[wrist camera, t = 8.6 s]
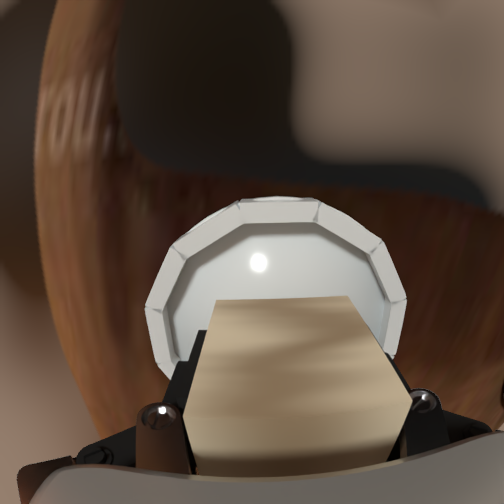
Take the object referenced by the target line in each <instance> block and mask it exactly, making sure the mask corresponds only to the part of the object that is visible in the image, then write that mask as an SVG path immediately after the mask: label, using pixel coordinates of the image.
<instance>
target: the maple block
mask: <svg viewBox="0 0 504 504" xmlns="http://www.w3.org/2000/svg"><path fill="white" fill-rule="evenodd" d="M411 404H412V399H411V397H410V395H409V394H408V392H407V390H406V388H405V387H404V385H403V383H402V382H401V380H400V378H399V377H398V375H397V373H396V372H395V370H394V368H393V367H392V365H391V363H390V362H389V360H388V358H387V357H386V355H385V353H384V352H383V350H382V349H381V347H380V345H379V344H378V342H377V341H376V339H375V337H374V336H373V334H372V333H371V331H370V329H369V328H368V326H367V325H366V323H365V322H364V320H363V318H362V317H361V315H360V314H359V312H358V311H357V309H356V308H355V306H354V305H353V303H352V302H351V300H350V299H349V297H348V296H330V297H308V298H281V299H239V300H216V302H215V306H214V309H213V312H212V316H211V319H210V323H209V326H208V329H207V333H206V336H205V340H204V343H203V347H202V350H201V354H200V357H199V361H198V364H197V368H196V371H195V375H194V378H193V382H192V385H191V389H190V392H189V396H188V400H187V403H186V407H185V410H184V414H183V419H184V423H185V427H186V430H187V434H188V437H189V441H190V444H191V448H192V451H193V455H194V458H195V461H196V464H197V468H198V471H199V474H200V476H214V477H247V478H251V477H285V476H299V475H310V474H320V473H328V472H336V471H342V470H349V469H355V468H360V467H366V466H371V465H376V464H380V463H385V462H386V460H387V458H388V456H389V454H390V452H391V450H392V448H393V446H394V444H395V442H396V440H397V437H398V435H399V433H400V431H401V428H402V426H403V424H404V421H405V419H406V416H407V414H408V411H409V409H410V406H411Z"/></svg>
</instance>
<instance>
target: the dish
mask: <svg viewBox="0 0 504 504" xmlns="http://www.w3.org/2000/svg"><path fill="white" fill-rule="evenodd" d="M330 296H348V297H349V299H350V300H351V302H352V303H353V305H354V306H355V308H356V309H357V311H358V312H359V314H360V315H361V317H362V318H363V320H364V322H365V323H366V324H367V325H368V327H369V328H370V330H371V332H372V333H373V335H374V336H375V338H376V339H377V341H378V343H379V344H380V346H381V347H382V349H383V351H384V352H386V353H388V354H389V355H390V356H391V358H392V359H393V358H394V355H395V354H396V351H397V347H398V343H399V338H400V333H401V329H402V324H403V319H404V313H405V308H406V302H407V300H406V299H405V298H406V294H405V292H404V289H403V287H402V284H401V282H400V279H399V277H398V274H397V272H396V269H395V267H394V265H393V262H392V260H391V257H390V255H389V253H388V250H387V248H386V246H385V244H384V242H383V241H381V239H380V238H378V237H377V236H375V235H374V234H372V233H371V232H369V231H368V230H366V229H365V228H364V227H363V226H362V225H360V224H359V223H358V222H356V221H355V220H354V219H352V218H351V217H349V216H348V215H346V214H344V213H342V212H340V211H338V210H336V209H334V208H333V207H331V206H328V205H325V204H324V203H322V202H320V201H318V200H317V199H313V198H299V197H289V196H270V197H258V198H254V199H241V201H240V202H239V201H238V200H237V201H236V202H234V203H233V204H231V205H229V206H227V207H225V208H222V209H220V210H219V211H217V212H215V213H213V214H211V215H209V216H208V217H206V218H205V219H203V220H202V221H201V222H199V223H198V224H197V225H195V226H194V227H193V228H192V229H191V230H190V231H189V232H187V233H186V234H184V235H182V236H181V237H180V238H179V239H178V240H177V241H176V242H175V243H173V244H172V246H171V247H170V249H169V251H168V253H167V255H166V257H165V260H164V262H163V264H162V266H161V269H160V271H159V273H158V276H157V278H156V280H155V283H154V285H153V287H152V290H151V292H150V294H149V297H148V299H147V302H146V304H145V306H146V307H145V313H146V318H147V323H148V328H149V333H150V338H151V343H152V347H153V352H154V356H155V360H156V363H158V365H157V366H158V367H159V368H160V369H161V370H162V371H163V372H164V373H165V375H166V376H167V377H168V378H169V379H170V380H171V377H172V375H173V372H174V369H175V367H176V364H177V362H178V361H188V359H189V356H190V353H191V350H192V348H193V345H194V342H195V339H196V336H197V333H198V330H207V329H208V326H209V323H210V319H211V316H212V312H213V309H214V306H215V302H216V300H239V299H281V298H308V297H330Z"/></svg>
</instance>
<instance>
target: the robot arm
mask: <svg viewBox="0 0 504 504" xmlns="http://www.w3.org/2000/svg"><path fill="white" fill-rule="evenodd" d="M366 325H367V324H366ZM367 326H368V325H367ZM368 328H369V327H368ZM369 329H370V328H369ZM370 331H371V330H370ZM206 333H207V330H198V333H197V336H196V339H195V342H194V345H193V348H192V350H191V353H190V356H189V359H188V361H178V362H177V364H176V367H175V369H174V372H173V375H172V377H171V380H170V383H169V385H168V388H167V391H166V393H165V396H164V399H163V401H162V402H157V403H152V404H149V405H147V406H145V407H144V408H142V409H141V410H140V411H139V413H138V415H137V419H136V426H134V427H131V428H129V429H127V430H124V431H122V432H120V433H117V434H115V435H113V436H110V437H108V438H105V439H103V440H100V441H98V442H96V443H93V444H90V445H88V446H86V447H84V448H83V449H82V450H81V451H80V452H79V453H78V455H77V457H75V458H72V457H71V456H70V455H69V456H66V457H62V458H57V459H53V460H48V461H44V462H39V463H34V464H29V465H26V466H24V467H22V468H21V469H20V470H19V472H18V474H17V485H18V491H19V496H20V501H21V504H504V431H501V430H495V432H492V430H491V428H490V427H489V426H488V425H486V424H485V423H483V422H480V421H477V420H474V419H470V418H467V417H464V416H461V415H457V414H454V413H451V412H448V411H445V410H442V406H441V402H440V400H439V398H438V396H437V395H436V394H435V393H433V392H432V391H430V390H427V389H422V388H416V389H410V387H409V386H408V384H407V382H406V381H405V379H404V377H403V376H402V374H401V372H400V371H399V369H398V368H397V366H396V364H395V363H394V361H393V360H392V358H391V356H390V355H389V354H388V353H386V352H384V351H383V352H384V353H385V355H386V357H387V358H388V360H389V362H390V363H391V365H392V367H393V368H394V370H395V372H396V373H397V375H398V377H399V378H400V380H401V382H402V383H403V385H404V387H405V388H406V390H407V392H408V394H409V395H410V397H411V399H412V404H411V406H410V409H409V411H408V414H407V416H406V419H405V421H404V424H403V426H402V428H401V431H400V433H399V435H398V437H397V440H396V442H395V444H394V446H393V448H392V450H391V452H390V454H389V456H388V458H387V460H386V462H385V463H380V464H376V465H371V466H366V467H360V468H355V469H349V470H342V471H336V472H328V473H320V474H310V475H299V476H285V477H251V478H247V477H214V476H200V475H197V470H196V467H197V464H196V461H195V458H194V455H193V451H192V448H191V444H190V441H189V437H188V434H187V430H186V427H185V423H184V419H183V414H184V410H185V407H186V403H187V400H188V396H189V392H190V389H191V385H192V382H193V378H194V375H195V371H196V368H197V364H198V361H199V357H200V354H201V350H202V347H203V343H204V340H205V336H206ZM371 333H372V332H371ZM372 334H373V333H372ZM373 336H374V335H373ZM374 337H375V336H374ZM375 339H376V338H375ZM376 341H377V339H376ZM377 342H378V341H377ZM378 344H379V343H378ZM379 345H380V344H379ZM380 347H381V346H380ZM381 349H382V347H381ZM382 350H383V349H382ZM503 397H504V395H503Z"/></svg>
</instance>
